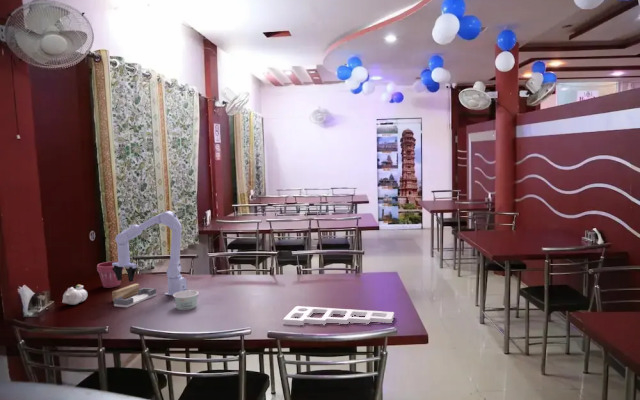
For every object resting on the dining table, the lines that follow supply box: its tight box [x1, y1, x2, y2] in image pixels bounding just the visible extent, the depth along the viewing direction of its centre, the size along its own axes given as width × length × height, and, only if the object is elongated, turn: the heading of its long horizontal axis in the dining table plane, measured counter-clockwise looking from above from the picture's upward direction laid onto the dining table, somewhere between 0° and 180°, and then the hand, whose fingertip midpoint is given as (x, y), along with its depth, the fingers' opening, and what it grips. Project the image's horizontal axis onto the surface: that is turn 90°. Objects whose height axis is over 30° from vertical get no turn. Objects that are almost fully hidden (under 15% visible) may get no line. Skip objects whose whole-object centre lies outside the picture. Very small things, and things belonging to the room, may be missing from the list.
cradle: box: [113, 287, 157, 308], centre depth 240 cm, size 8×21×4 cm, turn 159°
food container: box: [172, 289, 200, 311], centre depth 227 cm, size 12×12×6 cm
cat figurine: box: [61, 284, 88, 306], centre depth 238 cm, size 10×8×15 cm
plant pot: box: [96, 260, 125, 289], centre depth 270 cm, size 14×14×13 cm
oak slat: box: [111, 283, 140, 302], centre depth 247 cm, size 3×16×5 cm, turn 160°
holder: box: [282, 305, 395, 326], centre depth 203 cm, size 45×18×3 cm, turn 74°
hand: (125, 280), depth 247 cm, fingers open, 7 cm apart
